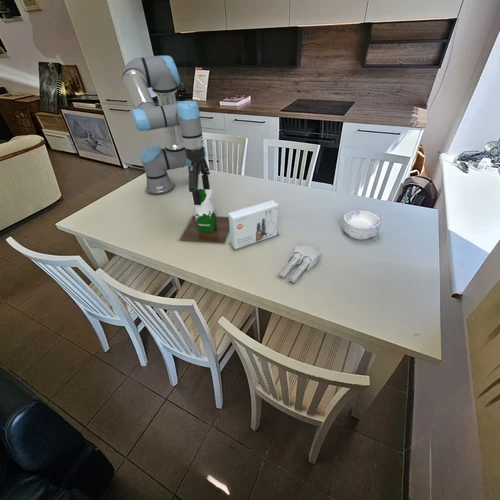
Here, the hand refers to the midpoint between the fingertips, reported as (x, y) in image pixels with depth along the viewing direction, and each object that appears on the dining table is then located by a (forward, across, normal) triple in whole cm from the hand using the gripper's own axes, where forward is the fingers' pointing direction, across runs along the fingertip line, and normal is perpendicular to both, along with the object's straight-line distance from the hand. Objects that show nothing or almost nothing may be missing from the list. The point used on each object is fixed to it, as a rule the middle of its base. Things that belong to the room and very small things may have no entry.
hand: (202, 196), depth 120 cm
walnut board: (+17, 0, 0) cm, 17 cm away
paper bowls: (+17, +3, -68) cm, 70 cm away
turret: (+17, -21, -43) cm, 51 cm away
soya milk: (+16, 0, 0) cm, 17 cm away
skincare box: (+17, -6, -23) cm, 29 cm away
